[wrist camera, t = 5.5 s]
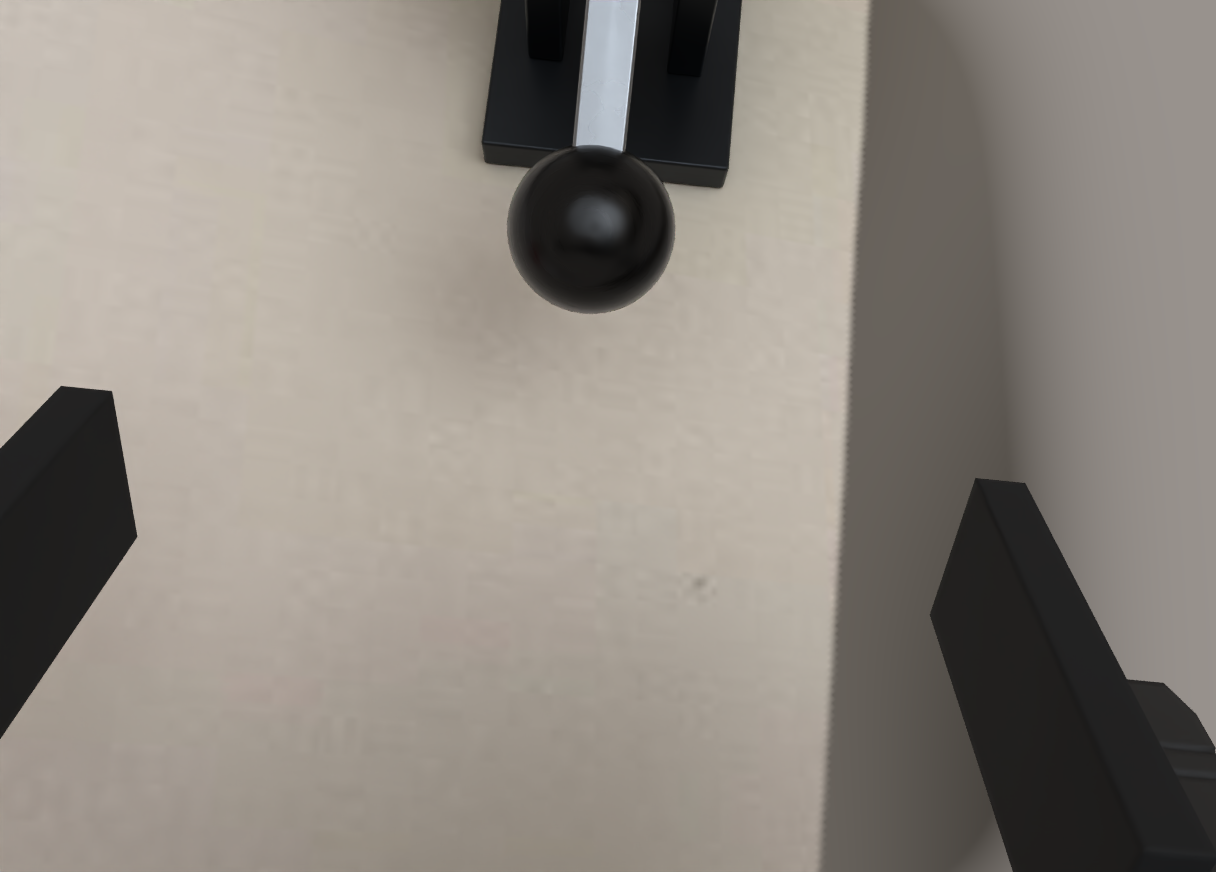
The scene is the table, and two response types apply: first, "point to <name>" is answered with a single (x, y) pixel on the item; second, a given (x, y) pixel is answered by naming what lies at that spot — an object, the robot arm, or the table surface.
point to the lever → (595, 188)
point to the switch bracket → (661, 89)
